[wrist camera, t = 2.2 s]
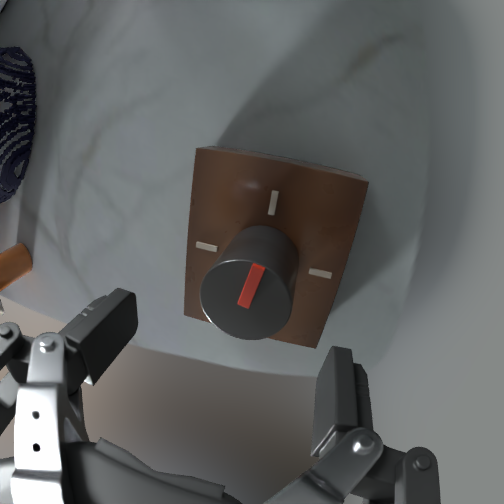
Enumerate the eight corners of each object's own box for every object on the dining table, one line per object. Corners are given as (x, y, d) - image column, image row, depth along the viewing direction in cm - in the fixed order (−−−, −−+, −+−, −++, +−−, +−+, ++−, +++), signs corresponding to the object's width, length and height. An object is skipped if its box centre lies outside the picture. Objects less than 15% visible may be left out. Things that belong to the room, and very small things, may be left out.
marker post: (29, 246, 27) (-18, 274, 19) (35, 275, 28) (-9, 305, 21) (14, 240, 27) (-31, 265, 20) (19, 267, 29) (-22, 294, 22)
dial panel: (360, 175, 17) (369, 182, 14) (316, 324, 22) (315, 350, 19) (212, 145, 18) (194, 147, 16) (197, 295, 23) (182, 316, 21)
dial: (282, 300, 18) (270, 356, 14) (219, 275, 19) (188, 322, 14) (310, 242, 16) (307, 287, 12) (240, 213, 17) (209, 247, 12)
